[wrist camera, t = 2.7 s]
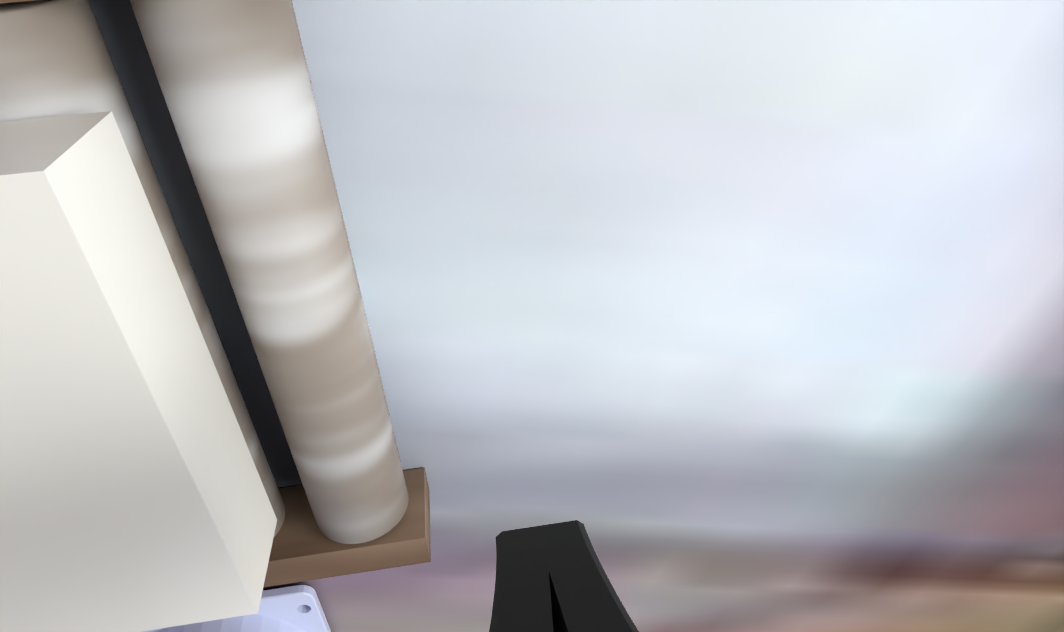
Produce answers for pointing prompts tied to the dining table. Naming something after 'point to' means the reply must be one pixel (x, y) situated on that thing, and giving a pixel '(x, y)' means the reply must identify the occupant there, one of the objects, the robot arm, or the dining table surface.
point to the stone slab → (110, 406)
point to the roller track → (253, 252)
